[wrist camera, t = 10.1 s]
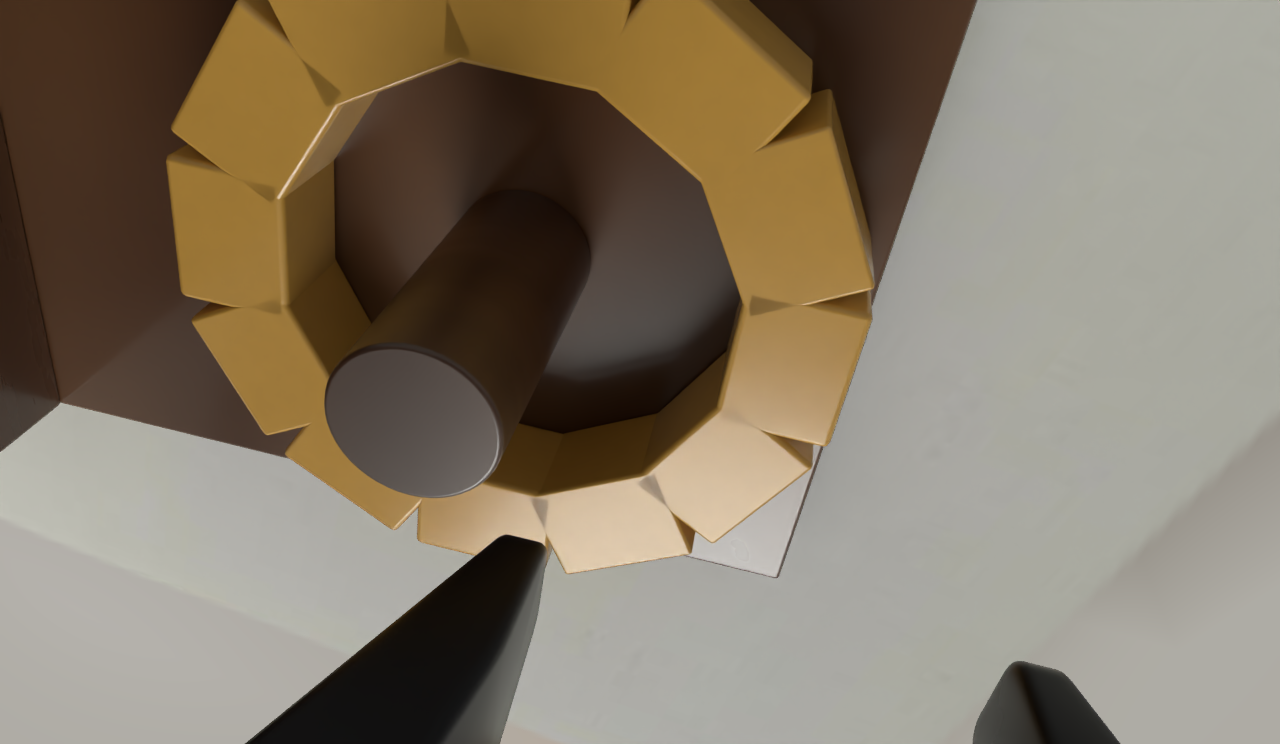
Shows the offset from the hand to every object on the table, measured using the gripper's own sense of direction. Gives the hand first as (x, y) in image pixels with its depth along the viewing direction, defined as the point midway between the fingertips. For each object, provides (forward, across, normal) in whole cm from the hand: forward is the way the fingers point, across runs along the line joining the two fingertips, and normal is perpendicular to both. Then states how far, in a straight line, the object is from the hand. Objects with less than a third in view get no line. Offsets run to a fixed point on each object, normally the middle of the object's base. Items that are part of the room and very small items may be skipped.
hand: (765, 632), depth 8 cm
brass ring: (+6, +4, 0) cm, 7 cm away
